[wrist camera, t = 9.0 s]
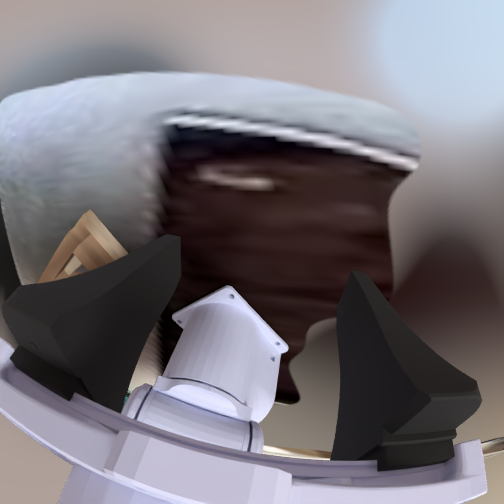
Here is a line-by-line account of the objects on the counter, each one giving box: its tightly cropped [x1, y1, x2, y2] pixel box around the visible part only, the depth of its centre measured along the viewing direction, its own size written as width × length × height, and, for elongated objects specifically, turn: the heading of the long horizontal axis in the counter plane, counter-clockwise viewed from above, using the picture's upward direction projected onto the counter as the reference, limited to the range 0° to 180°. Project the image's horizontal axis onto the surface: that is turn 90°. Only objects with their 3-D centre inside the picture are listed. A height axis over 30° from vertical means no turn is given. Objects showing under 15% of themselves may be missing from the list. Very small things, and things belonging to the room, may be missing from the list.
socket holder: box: [37, 209, 129, 284], centre depth 26 cm, size 10×21×7 cm, turn 128°
